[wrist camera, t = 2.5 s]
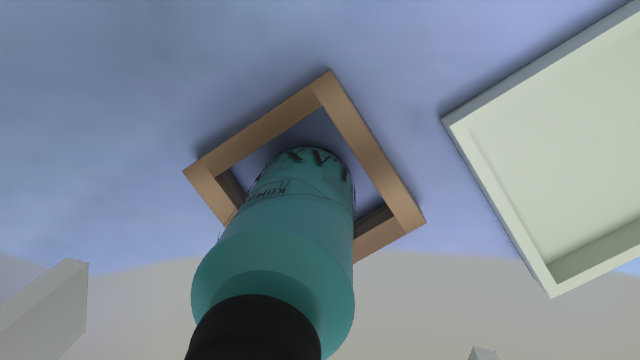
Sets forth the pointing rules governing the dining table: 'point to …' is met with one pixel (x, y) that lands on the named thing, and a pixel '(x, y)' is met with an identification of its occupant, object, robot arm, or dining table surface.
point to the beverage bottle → (280, 267)
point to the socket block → (328, 92)
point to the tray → (563, 153)
